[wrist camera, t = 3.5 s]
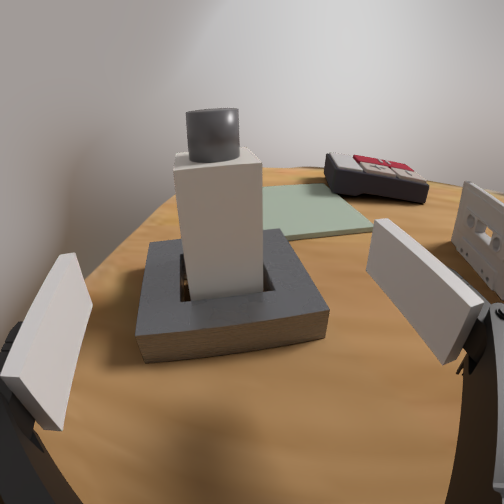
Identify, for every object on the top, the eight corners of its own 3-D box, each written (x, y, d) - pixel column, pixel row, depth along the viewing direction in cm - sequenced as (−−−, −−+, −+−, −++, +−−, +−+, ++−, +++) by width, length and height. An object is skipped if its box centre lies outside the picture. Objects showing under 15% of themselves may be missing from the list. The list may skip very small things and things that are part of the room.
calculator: (431, 181, 40) (335, 163, 41) (425, 207, 42) (331, 192, 43) (407, 162, 50) (326, 148, 51) (402, 185, 52) (323, 172, 53)
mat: (322, 186, 48) (323, 183, 48) (375, 231, 34) (375, 226, 34) (219, 194, 46) (219, 190, 45) (235, 246, 32) (234, 241, 32)
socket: (279, 251, 31) (279, 228, 30) (325, 337, 21) (329, 309, 19) (154, 266, 29) (149, 242, 28) (144, 363, 19) (134, 335, 17)
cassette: (446, 241, 32) (460, 179, 29) (458, 241, 32) (472, 181, 29) (499, 303, 22) (527, 227, 18) (511, 301, 22) (539, 228, 18)
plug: (250, 276, 27) (245, 106, 20) (263, 313, 23) (261, 110, 16) (192, 283, 27) (172, 111, 20) (194, 322, 22) (168, 117, 15)
